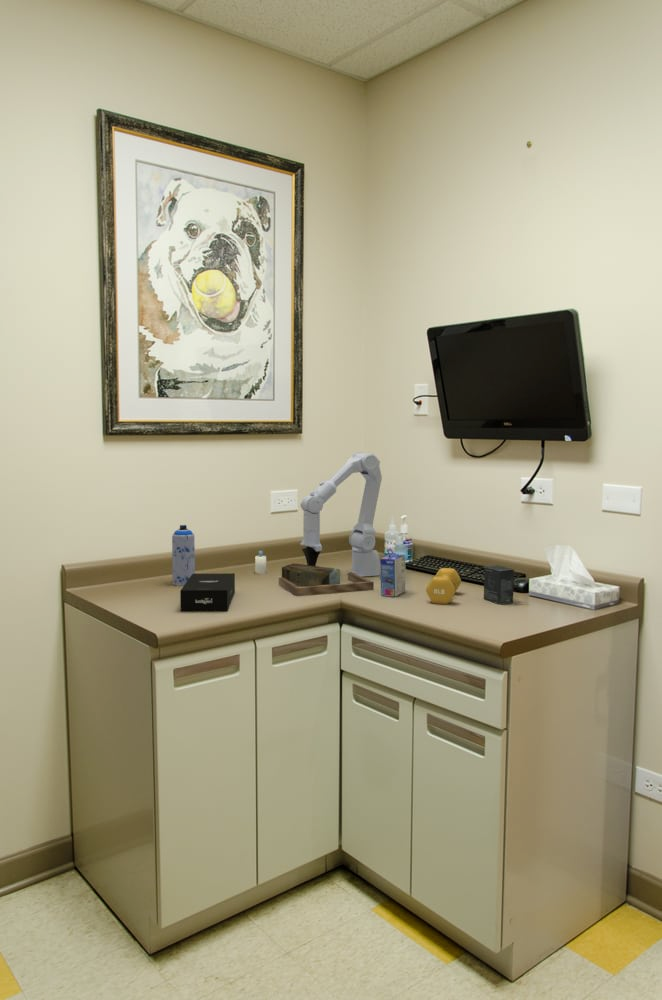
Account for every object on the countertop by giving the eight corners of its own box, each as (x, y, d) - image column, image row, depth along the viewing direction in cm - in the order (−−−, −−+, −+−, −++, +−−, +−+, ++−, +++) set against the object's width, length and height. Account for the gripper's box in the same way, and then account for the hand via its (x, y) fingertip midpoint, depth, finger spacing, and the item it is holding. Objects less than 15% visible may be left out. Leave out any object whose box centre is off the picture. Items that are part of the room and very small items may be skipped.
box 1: (192, 593, 246) (192, 573, 246) (234, 593, 247) (234, 573, 246) (180, 612, 222) (180, 590, 221) (227, 612, 222) (227, 590, 221)
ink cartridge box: (390, 589, 252) (390, 546, 251) (406, 591, 250) (406, 547, 248) (379, 595, 243) (379, 550, 242) (395, 597, 241) (396, 552, 240)
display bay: (351, 579, 269) (351, 572, 268) (373, 589, 252) (373, 582, 252) (278, 584, 259) (278, 577, 258) (296, 596, 242) (296, 588, 242)
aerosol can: (193, 580, 265) (193, 523, 263) (197, 585, 258) (196, 526, 256) (170, 581, 263) (170, 524, 261) (173, 586, 255) (172, 527, 253)
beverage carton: (329, 590, 251) (329, 571, 250) (280, 584, 260) (280, 565, 260) (340, 586, 258) (341, 567, 257) (292, 580, 267) (292, 562, 267)
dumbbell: (434, 591, 251) (434, 566, 250) (461, 592, 249) (462, 568, 248) (424, 604, 233) (424, 577, 232) (454, 606, 231) (454, 579, 230)
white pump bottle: (264, 571, 282) (264, 549, 282) (267, 573, 279) (267, 551, 278) (254, 571, 281) (253, 550, 280) (257, 573, 277) (257, 552, 276)
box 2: (513, 602, 235) (514, 568, 234) (498, 604, 232) (499, 570, 231) (497, 597, 242) (498, 564, 241) (483, 599, 239) (483, 566, 238)
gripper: (293, 528, 271) (293, 565, 272) (308, 533, 258) (308, 573, 259) (312, 527, 274) (312, 564, 275) (327, 532, 260) (327, 571, 262)
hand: (311, 568), depth 267 cm, fingers closed
